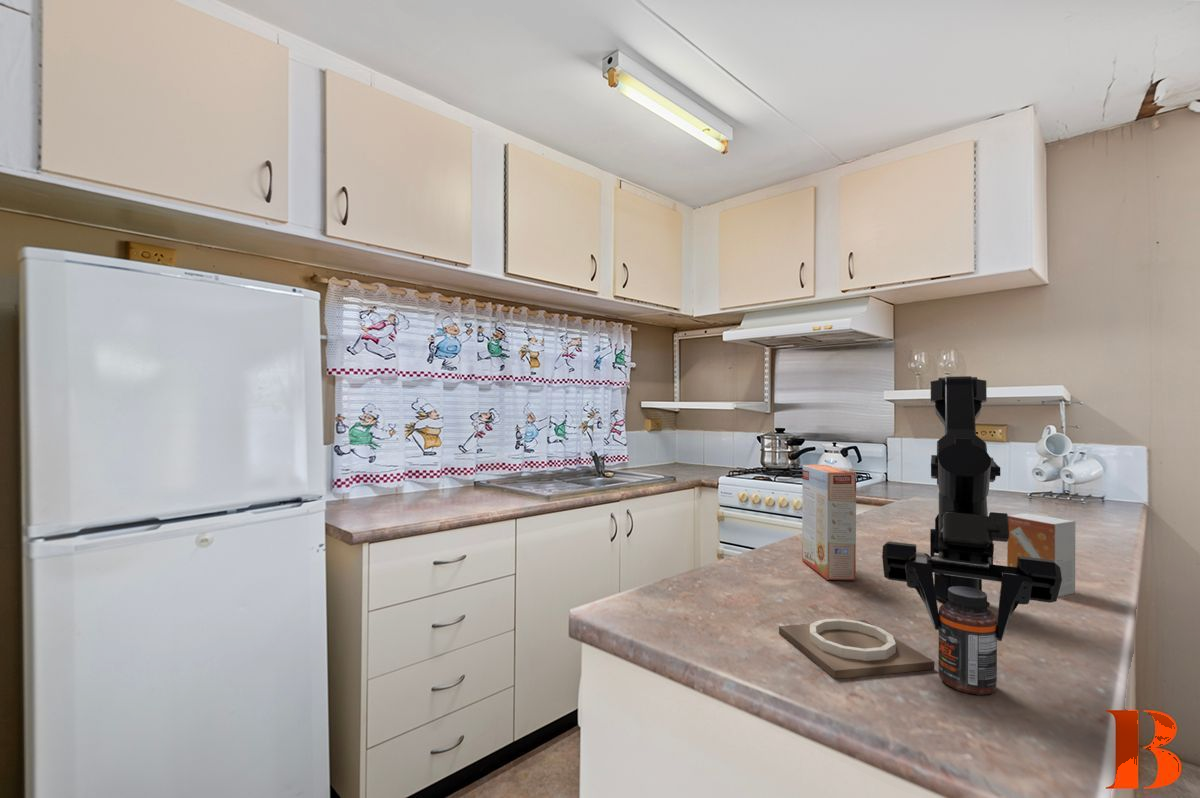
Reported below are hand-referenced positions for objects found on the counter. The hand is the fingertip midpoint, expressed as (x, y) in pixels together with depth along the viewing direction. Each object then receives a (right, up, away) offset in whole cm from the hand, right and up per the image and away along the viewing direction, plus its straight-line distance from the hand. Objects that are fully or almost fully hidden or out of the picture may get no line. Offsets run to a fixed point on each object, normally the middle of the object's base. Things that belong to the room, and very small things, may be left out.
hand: (967, 633), depth 67 cm
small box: (+37, -7, +36) cm, 52 cm away
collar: (-9, -7, +11) cm, 15 cm away
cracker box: (+3, -7, +47) cm, 48 cm away
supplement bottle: (+1, -7, +1) cm, 7 cm away
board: (-9, -7, +11) cm, 15 cm away
